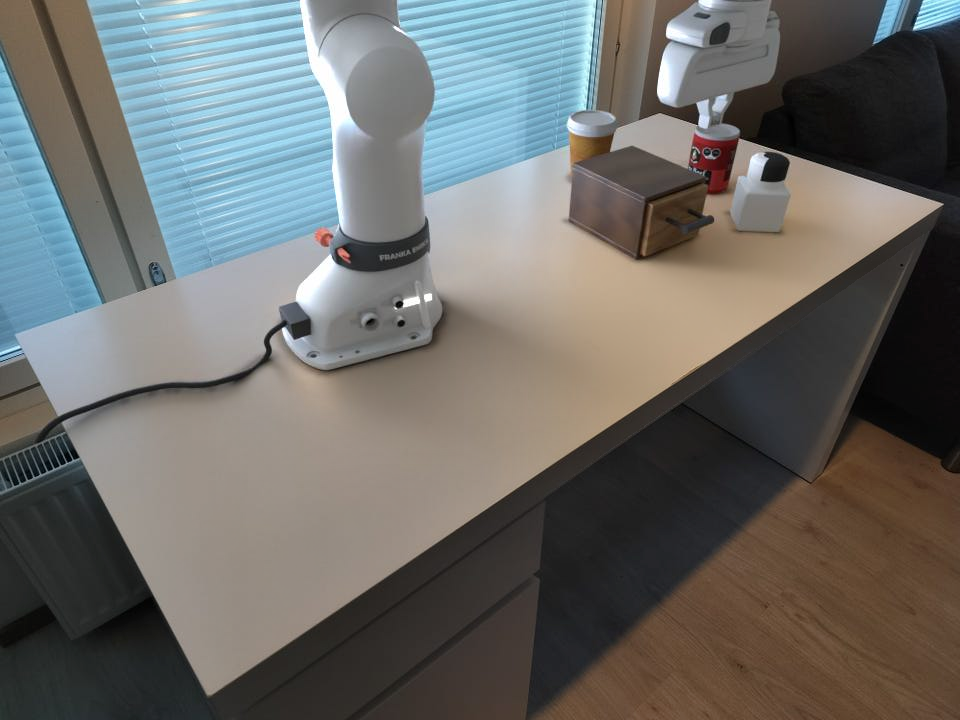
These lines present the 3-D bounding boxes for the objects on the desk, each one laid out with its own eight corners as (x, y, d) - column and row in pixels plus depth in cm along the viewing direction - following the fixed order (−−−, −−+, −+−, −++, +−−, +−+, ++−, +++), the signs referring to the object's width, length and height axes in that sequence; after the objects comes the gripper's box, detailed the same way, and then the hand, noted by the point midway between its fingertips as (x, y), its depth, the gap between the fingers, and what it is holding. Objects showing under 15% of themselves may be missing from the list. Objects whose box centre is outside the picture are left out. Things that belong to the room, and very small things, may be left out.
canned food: (677, 181, 133) (687, 124, 126) (713, 176, 135) (725, 120, 128) (698, 197, 127) (710, 139, 120) (735, 191, 129) (749, 134, 122)
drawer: (720, 246, 111) (732, 195, 105) (667, 269, 105) (676, 216, 100) (631, 202, 124) (638, 155, 118) (580, 220, 118) (584, 171, 113)
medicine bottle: (770, 214, 121) (788, 148, 114) (780, 233, 116) (800, 165, 108) (729, 212, 122) (744, 147, 115) (736, 231, 116) (753, 163, 109)
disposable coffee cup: (619, 175, 135) (626, 114, 128) (599, 192, 129) (606, 129, 122) (575, 165, 139) (580, 105, 132) (554, 182, 133) (558, 120, 126)
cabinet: (694, 236, 115) (706, 176, 109) (636, 259, 109) (645, 198, 103) (624, 201, 126) (632, 145, 119) (568, 221, 120) (573, 163, 113)
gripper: (761, 4, 95) (739, 105, 103) (657, 25, 86) (642, 134, 94) (801, 12, 91) (774, 117, 99) (696, 35, 82) (676, 148, 90)
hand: (709, 126), depth 97 cm, fingers closed
